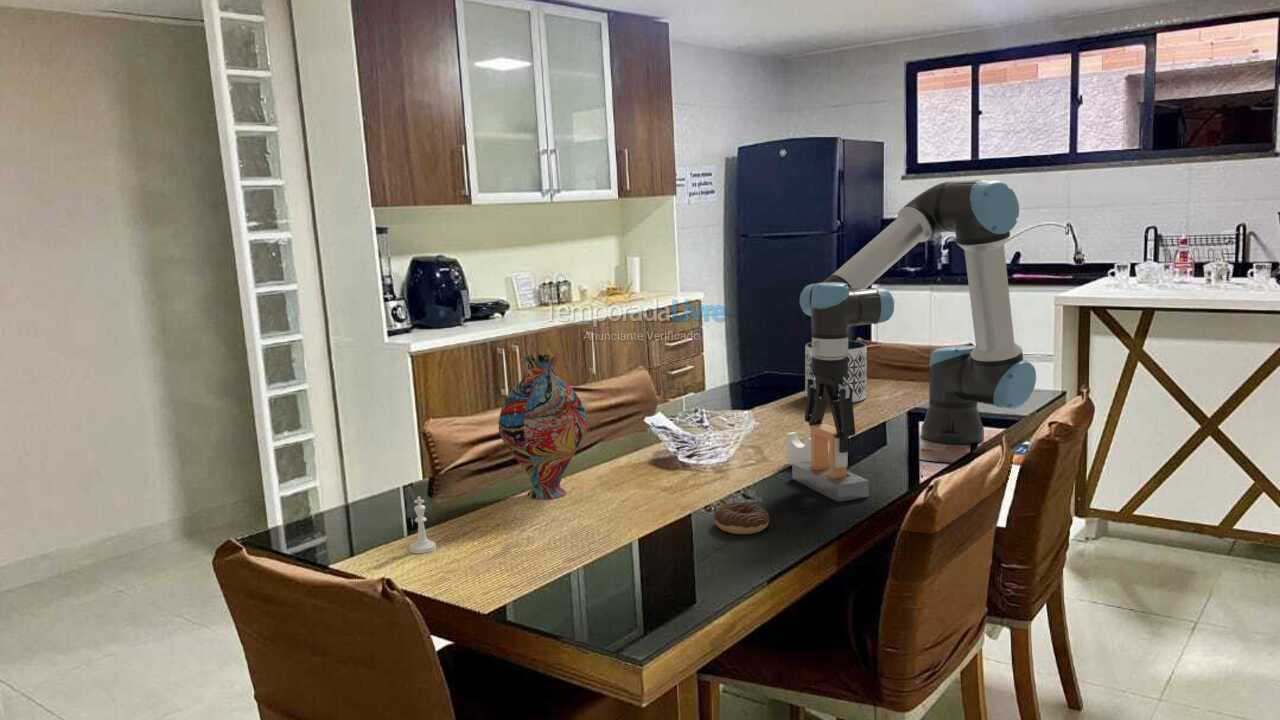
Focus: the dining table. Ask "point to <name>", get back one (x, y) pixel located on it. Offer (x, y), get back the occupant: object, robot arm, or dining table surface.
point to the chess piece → (421, 532)
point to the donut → (741, 518)
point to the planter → (855, 369)
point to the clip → (825, 450)
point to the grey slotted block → (831, 482)
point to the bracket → (797, 449)
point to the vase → (543, 425)
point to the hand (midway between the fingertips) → (828, 461)
